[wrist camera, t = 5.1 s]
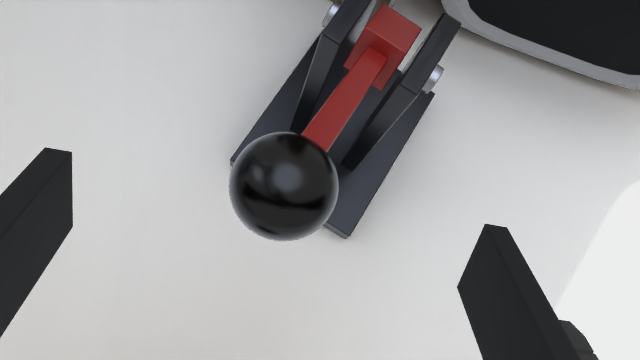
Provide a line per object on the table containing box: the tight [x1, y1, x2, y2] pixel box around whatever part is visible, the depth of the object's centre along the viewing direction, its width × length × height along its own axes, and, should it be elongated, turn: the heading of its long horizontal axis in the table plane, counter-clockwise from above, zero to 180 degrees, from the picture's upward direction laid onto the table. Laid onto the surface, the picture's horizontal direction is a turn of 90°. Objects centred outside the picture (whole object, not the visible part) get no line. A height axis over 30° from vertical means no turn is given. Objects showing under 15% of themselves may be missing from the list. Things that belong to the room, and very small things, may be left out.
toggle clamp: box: [230, 0, 461, 239], centre depth 30 cm, size 12×9×14 cm
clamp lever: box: [229, 4, 421, 241], centre depth 22 cm, size 14×4×4 cm, turn 148°
